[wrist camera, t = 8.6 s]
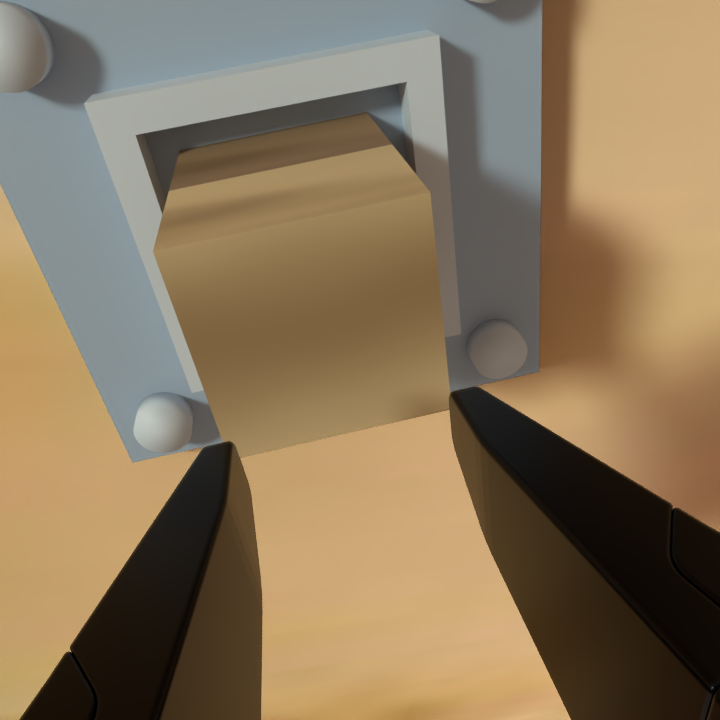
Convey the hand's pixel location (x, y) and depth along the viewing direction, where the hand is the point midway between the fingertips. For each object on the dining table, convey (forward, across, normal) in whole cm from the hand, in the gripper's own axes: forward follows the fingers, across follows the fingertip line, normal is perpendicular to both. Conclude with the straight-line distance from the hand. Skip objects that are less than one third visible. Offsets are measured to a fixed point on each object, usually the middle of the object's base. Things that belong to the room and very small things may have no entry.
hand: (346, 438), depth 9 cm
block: (+9, 0, 0) cm, 9 cm away
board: (+10, 0, 0) cm, 10 cm away
